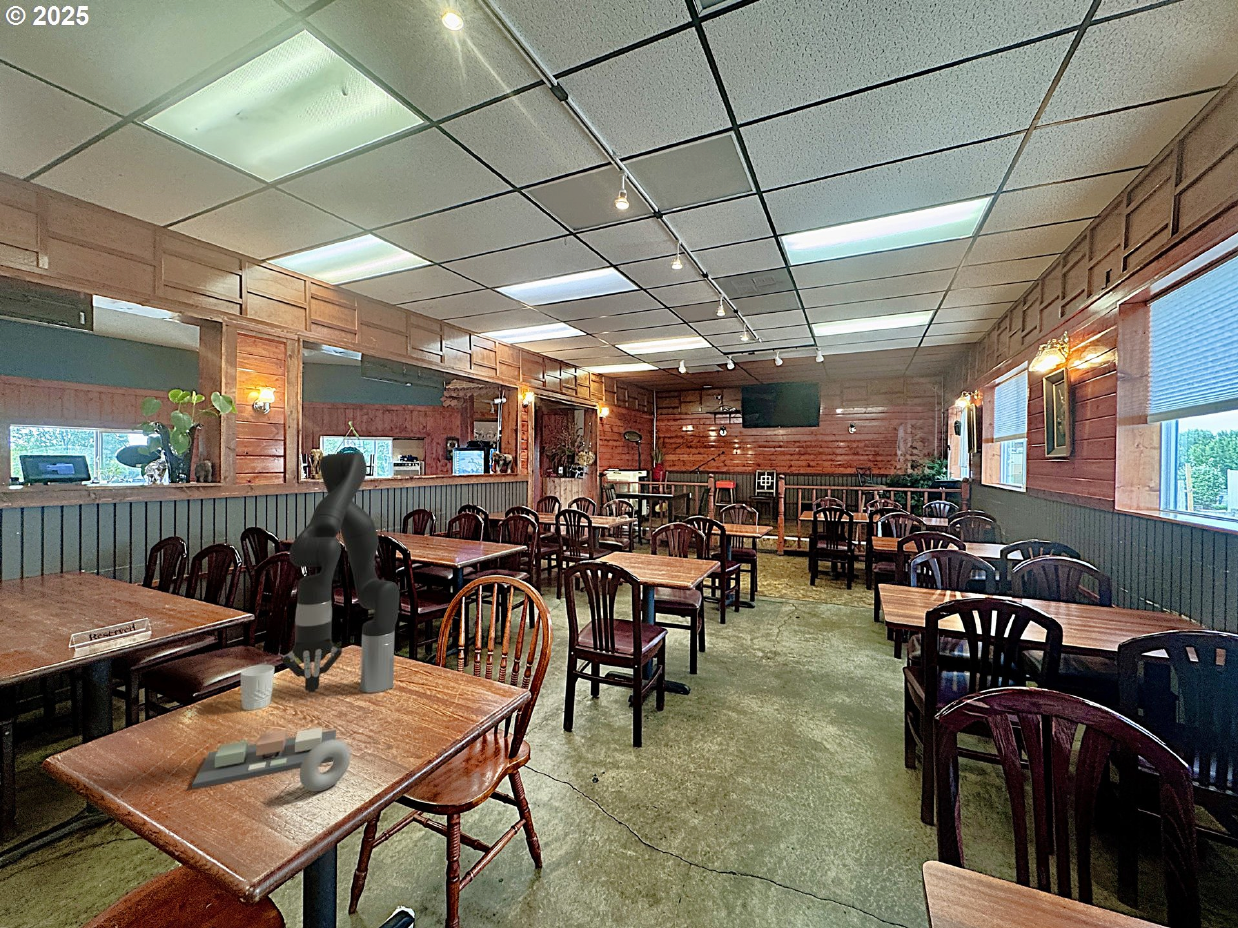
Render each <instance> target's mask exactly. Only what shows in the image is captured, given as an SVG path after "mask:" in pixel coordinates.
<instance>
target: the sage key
mask: <svg viewBox="0 0 1238 928" xmlns="http://www.w3.org/2000/svg"><path fill="white" fill-rule="evenodd" d="M248 745H249V739H246V740H241V741H236V742H235V741H234V742H230V743H225V744H224V743H222V744H220V746H219V748H218V749H217V751H218V752H217V754H216V756H215V767H220V766H230V765H235V764H239V763H241V762H244V759H245V757H246V754H247V752H248Z"/></svg>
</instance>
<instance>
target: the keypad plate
mask: <svg viewBox="0 0 1238 928" xmlns="http://www.w3.org/2000/svg"><path fill="white" fill-rule="evenodd" d="M336 735H337V730H336V729H333V730H332V729H331V730H327V731H322V740H321V743H322V742H324V741H328V740H332V739H334V740H336V737H337V736H336ZM295 740H296V736H294V737H286V742H285V746H284V749H283V751H278V752H277V753H276V755H271V756H270V757H269V756H266V757H265V754H262V755H257V756H256V745H257V743H254V744H253V743H252V744H248V752H247V754H246V757H245V759H244V762H241V763H237V764H235V765H230V766H220V767H215V756H216V754H217V752H218V750H216V751H215V750H214V751H210V752H208V754H207V756H206V758H205V760H204V762H203V764H202V765H201V767H200V768H199V771H198V773H197V775H196V776H195V778H194V781H193V782H192V787H191V788H192V789H191V790H198V789H201V788H208V787H212V786H213V787H214V786H216V785H217V786H218V785H222V784H228V783H231V782H232V783H233V782H238V781H242V780H247V779H252V778H257V777H263V776H266V775H270V774H276V773H281V772H286V771H290V770H296V769H300V768H301V765H302V763H303V761H304V759H305V757H306V756H307V755H308V753H309V752H310V751H311V750H308V751H299V752H295ZM333 761H334V760H333V758H332V757H328V758H326V759H324V760H323V761H322V762H321V763H320V765H321V764H326V763H330V762H333Z"/></svg>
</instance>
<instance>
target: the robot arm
mask: <svg viewBox="0 0 1238 928" xmlns="http://www.w3.org/2000/svg"><path fill="white" fill-rule="evenodd" d="M367 467H368V466H367V461H366V459H365V457H364V456H363V454H362V453H360V452H358V451H348V452H341V453H335V454H334V453H332V454H327V455H323V456H322V457H321V459H320V460H319V470H320V471H319V472H320V476H321V479H322V481H323V484H324V486H325V490H326V491H327V495H325V496H324V497H323V498H322V499H321V500H320V502H319V503H318V504H317V505H316V507H315V509H314V511H313V513H312V516H311V518H310V521H309V523H308V524H307V525H306V526H305V528H304V529H303V530H302V531H301V532H300V533H299V534H298V536H296V538H295V539H294V540H293V542H292V543H291V545H290V548H289V554H288V556H289V560H290V563H292V564H293V565H294V566H296V567H297V568H298V567H299V568H306V567H308V568H309V567H311V568H312V567H317V568H318V567H321V570H320V572H319V573H316V574H312V575H307V576H304V577H302V578H300V579H299V580H298V584H297V602H296V603H297V604H296V609H295V617H294V621H295V625H294V626H295V628H294V629H295V630H294V634H295V635H294V644H293V646H292V648H291V649H292V650H291V651H290V652H289V653H286V654H284V655H283V657H282V660H281V662H282V664H284V665H285V666H286V667H287V668H288V669H289V670H290V671H291V672H292V673H293V674H294V675H295V676H297V678H298V677H299V678H301V677H303V678H304V682H305V683H304V689H305V691H306V692H308V694H311V693H316V690H318V689H319V687H320V676H321V675H323V674H326V673H328V671H329V670H330V669H331V667H332V666H333V665H334V664H335V663H336V662H337V660H338V659H339V658H340V656H342V654H343V649H342V647H337V646H335V645H334V641H333V640H332V627H333V626H332V625H333V624H332V623H333V621H332V618H333V607H332V584H333V583H332V582H333V579H334V574H335V570H336V567H337V564H338V561H339V559H340V555H341V552H342V545H341V542H340V541H339V540H338V539H337V538H336V537H337V536H338V535H339V533H341V537H342V538H341V539H342V541H343V543H344V548H345V550H346V553H347V556H348V561H349V564H350V568H351V571H352V575H353V580H354V581H353V582H354V587H355V589H354V590H355V592H356V593H355V594H356V598H357V601H358V604H359V605H360V606H361V607H362V608H364V609H367V610H371V611H374V612H373V613H374V615H373V619H371V620H368V621H365V622H364V623H363V624H362V632H361V657H360V658H361V659H360V660H361V661H360V679H359V681H360V682H359V685H360V686H359V687H360V688H359V689H360V690H359V691H361V692H363V693H368V694H369V693H370V694H371V693H374V694H375V693H379V692H384V691H387V690H389V689H392V688H394V678H395V677H394V673H395V654H394V653H395V629H396V623H397V621H398V617H399V607H400V605H399V604H400V588H399V586H398V585H397V584H396V582H393V581H391V580H384V579H383V580H382V579H379V577H378V575H377V572H376V569H375V564H374V562H375V556H376V555H377V551H378V547H379V541H380V540H379V535H378V531H377V528H376V524H375V521H374V520H373V518H372V517H371V516H370V514H369V513H367V512H366V511H365V510H364V509H363V508H362V507H360V506H359V505H358V504H357V503H355V501H353V500H354V498H355V497H356V496H357V493H358V492H359V490H360V488H361V486H362V485H363V483H364V481H365V478H366V476H367V470H368V469H367ZM329 653H330V656H329V659H327V660H326V662H325V663H324V664H323V665H322V666H321V664H322V663H321V662H322V661H323V660H324V659H325V658H326V657H327V656H328V655H329ZM296 658H297V659H298V660H299V661H300V662H301V663H303V667H302V666H301V665H300V664H299V663H298V662H296V661H295V660H296ZM312 663H313V667H312ZM312 668H313V671H312Z"/></svg>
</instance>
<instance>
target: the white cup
mask: <svg viewBox="0 0 1238 928" xmlns="http://www.w3.org/2000/svg"><path fill="white" fill-rule="evenodd" d="M275 669H276V667H275V666H274V665H271V664H260V665H259V664H258V665H253V666H250V667H246V668H245V669H243V670H241V671H240V694H241V695H240V697H241V708H242V710H244V711H256V710H260V709H263V708H265V707H267V706H269V705H270V704H271V702H272V694H273V690H274V689H273V686H274V675H275Z"/></svg>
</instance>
